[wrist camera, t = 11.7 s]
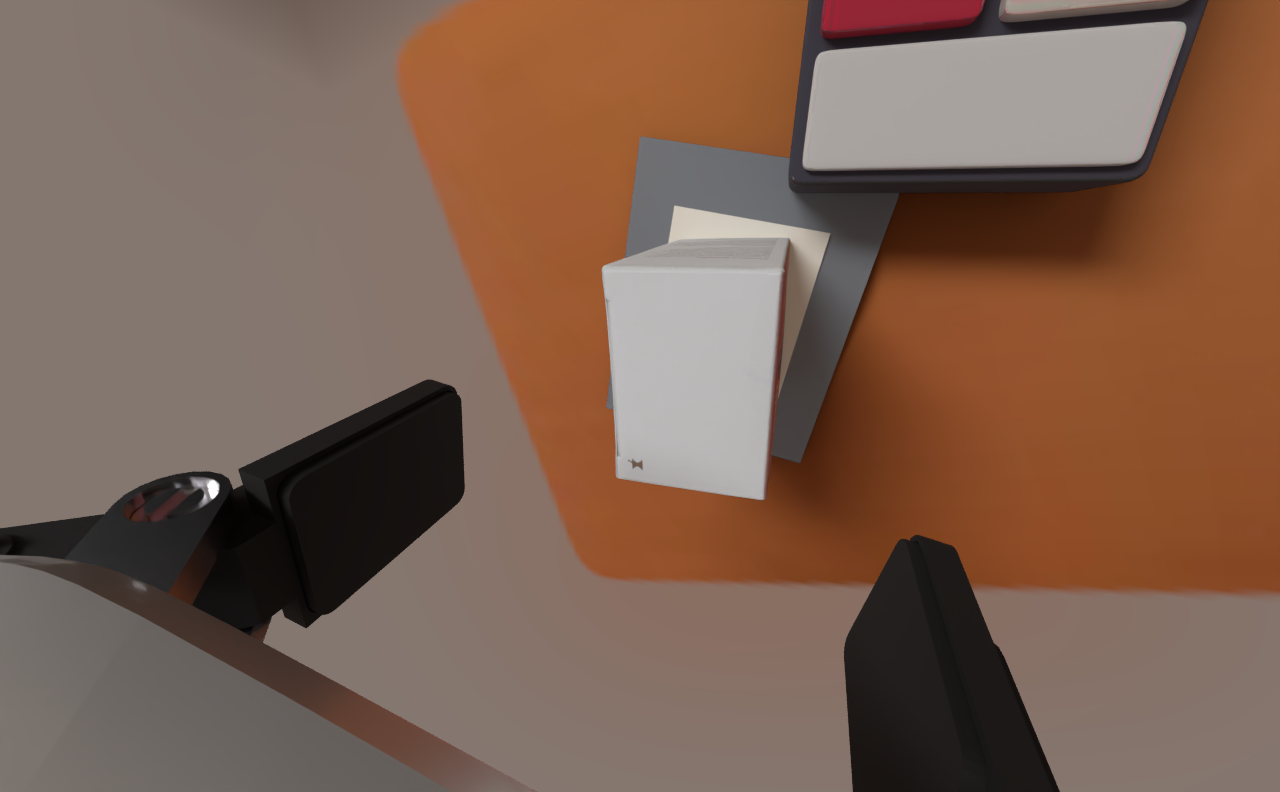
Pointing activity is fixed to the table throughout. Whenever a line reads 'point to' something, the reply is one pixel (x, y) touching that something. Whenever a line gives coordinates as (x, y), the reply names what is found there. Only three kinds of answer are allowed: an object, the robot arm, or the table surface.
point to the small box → (698, 362)
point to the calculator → (985, 93)
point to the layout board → (767, 208)
